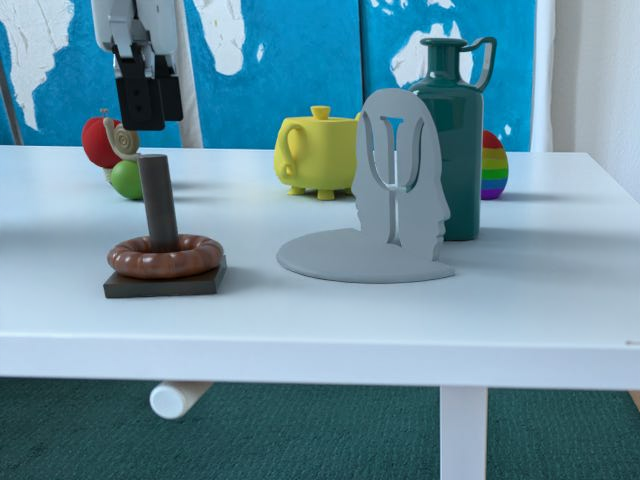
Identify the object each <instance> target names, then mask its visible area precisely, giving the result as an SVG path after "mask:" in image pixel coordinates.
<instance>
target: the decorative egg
mask: <svg viewBox="0 0 640 480" xmlns="http://www.w3.org/2000/svg"><path fill="white" fill-rule="evenodd" d="M509 165H510V164H509V160H508V155H507V152H506V150H505V147H504V145H503V143H502V141H501V140H500V139H499V137H498V136H497V135H496V134H494V133H493V132H492V131H490V130H488V129H483V139H482V172H481V200H493V199H498V198H499V197H501V195H502V193H503V192H504V190H505V189H506V186H507V184H508V180H509V172H510V169H509V167H510V166H509Z"/></svg>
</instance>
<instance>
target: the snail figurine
mask: <svg viewBox="0 0 640 480" xmlns="http://www.w3.org/2000/svg"><path fill="white" fill-rule="evenodd" d="M99 112H100V113H102V114H101V115H102V117H103V119H104V120H103V124H104V126H105V128H106V133H107V136H108V139H109V142H110V145H111V147H112V149H113V151H114V152H115V154H116V155H118V156H119V157H120V158H122V159H123V160H124V161H121V162H119V163H118V164H116V165H115V167H114V168H113V170H112V172H111V182H112V184H111V186H112V187H113V189H114V190H115V191H116V192H117V194H119V195H120V196H121V197H124V198H126V199H129V200H140V199H144V198H143V192H142V185H141V179H140V172H139V166H138V160H137V156H138V155H143V154H142V152H138V150H139V149H140V145H141V141H140V140H141V139H140V135H139V132H138V131H128V130H125V129H124V128H123V125H122V123H120V124H118V125H117V126H116V128H115V129H114V122H113V120H112V119H113V118H111V117H109V116H108V115H106V116H104V114H105V113H106V114H108V113H109V109H108V108H100V109H99ZM104 117H106V118H104Z"/></svg>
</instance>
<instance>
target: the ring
mask: <svg viewBox="0 0 640 480" xmlns="http://www.w3.org/2000/svg"><path fill="white" fill-rule="evenodd" d="M178 235H179V242H180V249H181V251H180V252H173V253H152V249H151V243H150V237H149V235H145V236H138V237H134V238H130V239H127V240H124V241H120V242H118V243H117V244H116V245H115V246H113V247H112V248H111V249H110V250H109V251H108V253H107V254H106V255H107V256H106V261H107V264H108V266H109V267H110V268H111V269H113V270H114V272H115V271H117V272H118V273H120V274H121V275H123V276H127V277H134V278H141V279H172V278H179V277H185V276H191V275H197V274H200V273H203V272H206V271H208V270H211V269H214V268H216V267H217V266H218V265H219V264H220V262H221V260H222V258H223V255H225V249H224V247H223V245H222V244H221V243H220V242H219V241H217V240H215V239H213V238H210V237H209V236H205V235H201V234H200V235H199V234H190V233H178Z"/></svg>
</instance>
